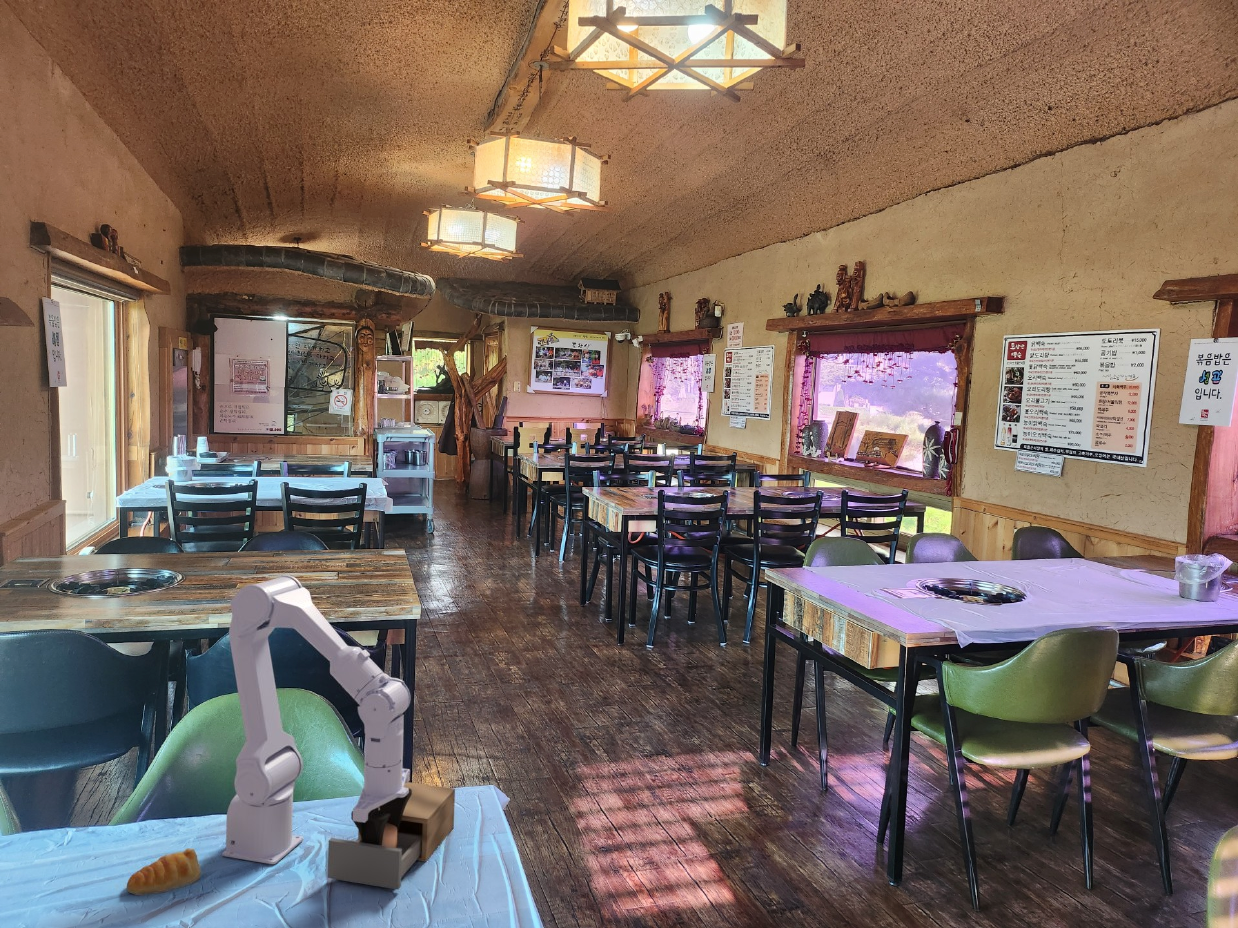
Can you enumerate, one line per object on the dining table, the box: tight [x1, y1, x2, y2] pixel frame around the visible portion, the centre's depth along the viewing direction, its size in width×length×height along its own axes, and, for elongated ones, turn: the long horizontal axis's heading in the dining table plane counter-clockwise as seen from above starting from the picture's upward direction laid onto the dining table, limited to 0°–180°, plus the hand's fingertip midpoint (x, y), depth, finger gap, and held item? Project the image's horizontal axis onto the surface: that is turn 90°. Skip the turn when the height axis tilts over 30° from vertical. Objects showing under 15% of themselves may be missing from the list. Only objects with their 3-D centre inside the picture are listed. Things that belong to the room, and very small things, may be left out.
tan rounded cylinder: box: [382, 823, 397, 848], centre depth 124 cm, size 5×5×4 cm
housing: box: [357, 781, 456, 863], centre depth 133 cm, size 11×12×7 cm
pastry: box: [126, 848, 202, 896], centre depth 118 cm, size 9×7×4 cm
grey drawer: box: [327, 832, 422, 890], centre depth 124 cm, size 11×12×6 cm
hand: (381, 845), depth 124 cm, fingers closed on tan rounded cylinder, 5 cm apart
